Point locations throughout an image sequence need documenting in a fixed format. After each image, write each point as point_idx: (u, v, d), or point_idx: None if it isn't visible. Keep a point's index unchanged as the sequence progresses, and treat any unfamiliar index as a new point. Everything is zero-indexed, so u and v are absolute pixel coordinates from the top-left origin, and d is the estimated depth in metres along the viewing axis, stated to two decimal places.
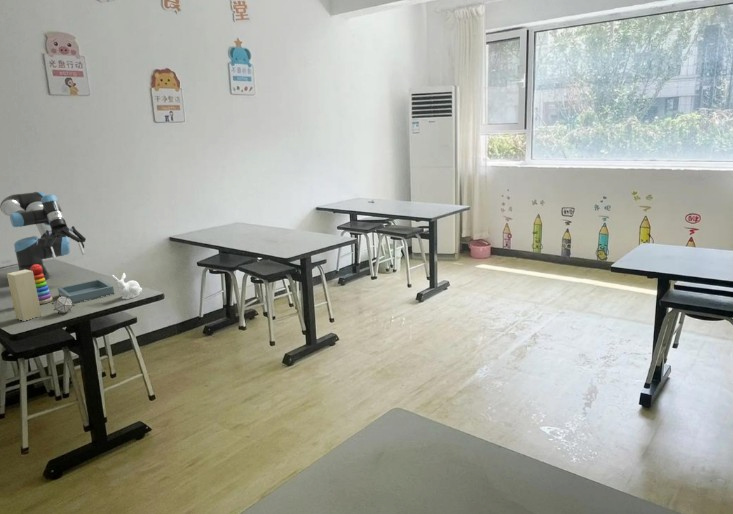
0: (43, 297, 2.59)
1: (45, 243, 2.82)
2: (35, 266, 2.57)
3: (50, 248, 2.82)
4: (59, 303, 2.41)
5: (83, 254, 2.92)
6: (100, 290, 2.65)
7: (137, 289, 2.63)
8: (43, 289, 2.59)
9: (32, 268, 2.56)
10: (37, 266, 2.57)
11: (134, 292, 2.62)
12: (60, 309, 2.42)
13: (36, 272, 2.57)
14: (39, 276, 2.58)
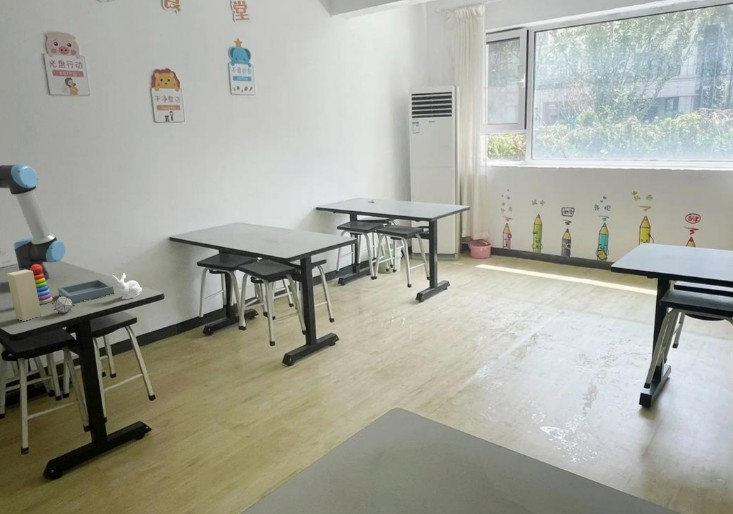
0: (43, 297, 2.59)
1: None
2: (35, 266, 2.57)
3: None
4: (59, 303, 2.41)
5: (5, 252, 2.50)
6: (100, 290, 2.65)
7: (137, 289, 2.63)
8: (43, 289, 2.59)
9: (32, 268, 2.56)
10: (37, 266, 2.57)
11: (134, 292, 2.62)
12: (60, 309, 2.42)
13: (36, 272, 2.57)
14: (39, 276, 2.58)
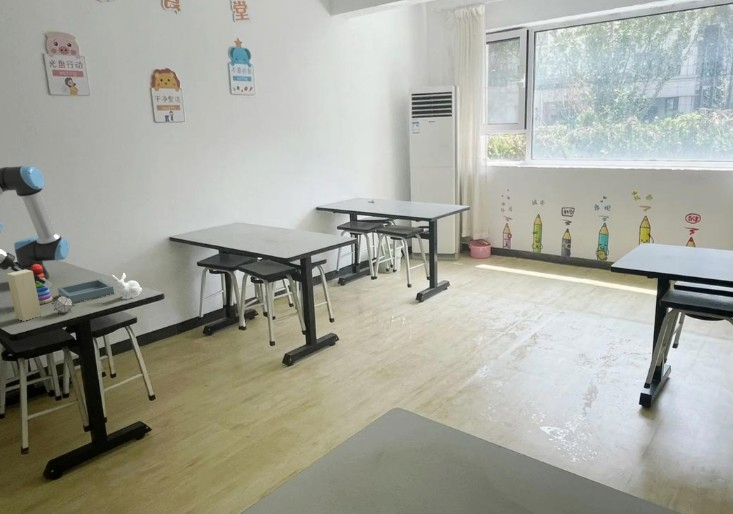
0: (43, 297, 2.59)
1: None
2: (35, 266, 2.57)
3: None
4: (59, 303, 2.41)
5: None
6: (100, 290, 2.65)
7: (137, 289, 2.63)
8: (43, 289, 2.59)
9: (32, 268, 2.56)
10: (37, 266, 2.57)
11: (134, 292, 2.62)
12: (60, 309, 2.42)
13: (36, 272, 2.57)
14: None
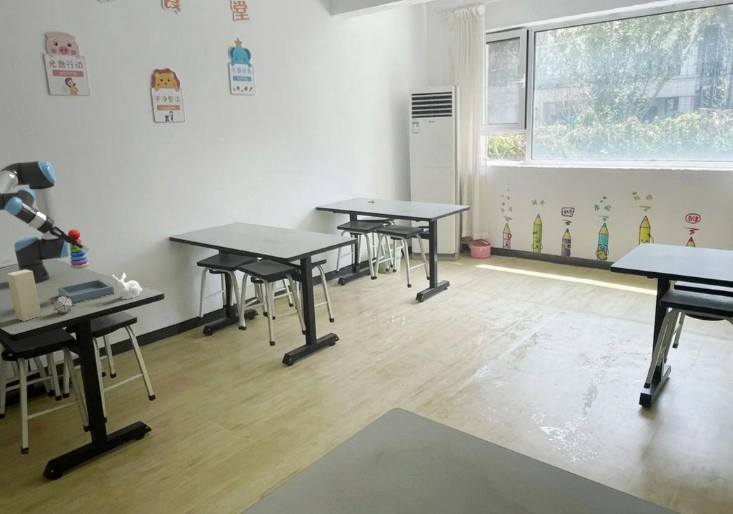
0: (80, 262, 2.63)
1: None
2: (73, 231, 2.60)
3: None
4: (59, 303, 2.41)
5: None
6: (100, 290, 2.65)
7: (137, 289, 2.63)
8: (80, 254, 2.63)
9: (70, 233, 2.60)
10: (75, 231, 2.61)
11: (134, 292, 2.62)
12: (60, 309, 2.42)
13: (74, 237, 2.61)
14: None
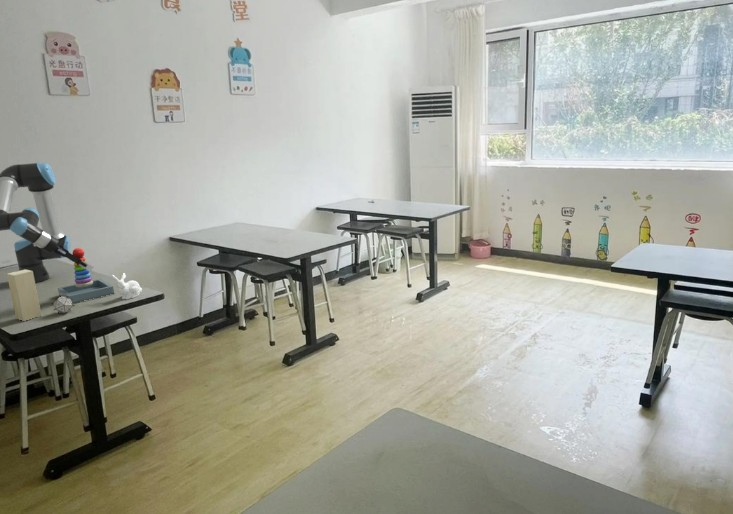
0: (85, 280, 2.65)
1: None
2: (77, 249, 2.63)
3: None
4: (59, 303, 2.41)
5: (93, 267, 2.67)
6: (100, 290, 2.65)
7: (137, 289, 2.63)
8: (85, 272, 2.65)
9: (75, 252, 2.62)
10: (79, 250, 2.63)
11: (134, 292, 2.62)
12: (60, 309, 2.42)
13: (78, 256, 2.63)
14: (81, 259, 2.64)
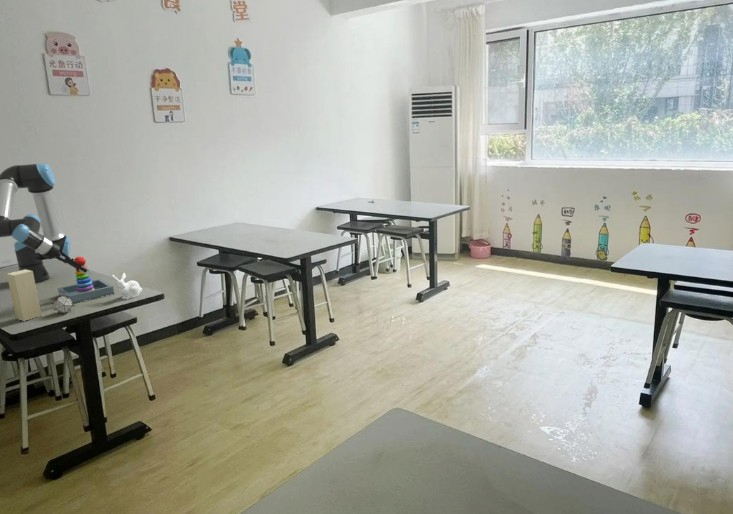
0: (86, 288, 2.66)
1: None
2: (79, 258, 2.65)
3: None
4: (59, 303, 2.41)
5: (93, 272, 2.64)
6: (100, 290, 2.65)
7: (137, 289, 2.63)
8: (86, 280, 2.67)
9: (76, 260, 2.64)
10: (81, 258, 2.65)
11: (134, 292, 2.62)
12: (60, 309, 2.42)
13: (80, 264, 2.65)
14: None
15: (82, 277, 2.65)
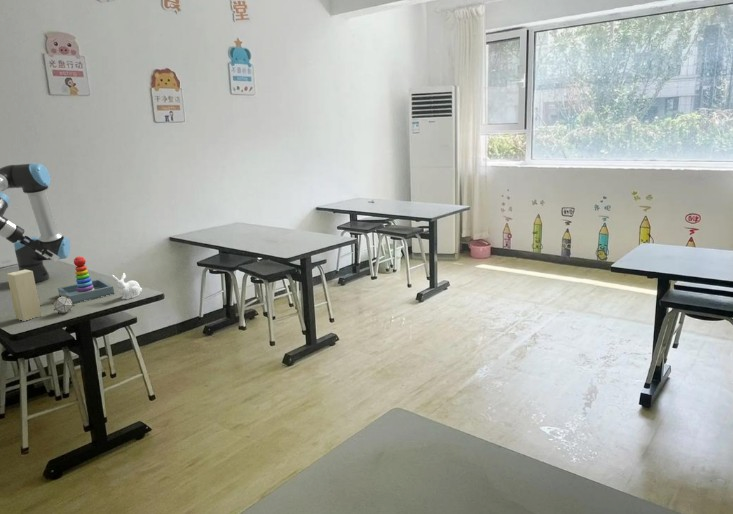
0: (86, 288, 2.66)
1: (29, 247, 2.59)
2: (79, 258, 2.64)
3: None
4: (59, 303, 2.41)
5: (59, 257, 2.54)
6: (100, 290, 2.65)
7: (137, 289, 2.63)
8: (86, 281, 2.67)
9: (76, 260, 2.64)
10: (81, 258, 2.65)
11: (134, 292, 2.62)
12: (60, 309, 2.42)
13: (80, 264, 2.65)
14: (82, 268, 2.65)
15: (82, 277, 2.65)
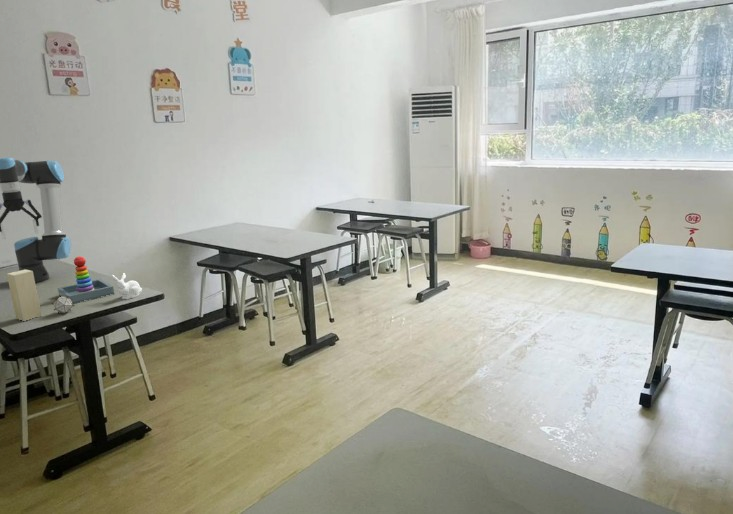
0: (86, 288, 2.66)
1: None
2: (79, 258, 2.64)
3: (0, 226, 2.54)
4: (59, 303, 2.41)
5: None
6: (100, 290, 2.65)
7: (137, 289, 2.63)
8: (86, 280, 2.67)
9: (76, 260, 2.64)
10: (81, 258, 2.65)
11: (134, 292, 2.62)
12: (60, 309, 2.42)
13: (80, 264, 2.65)
14: (82, 268, 2.65)
15: (82, 277, 2.65)
